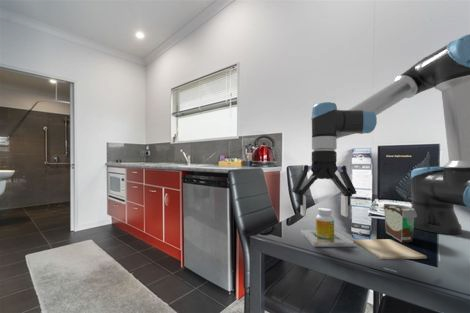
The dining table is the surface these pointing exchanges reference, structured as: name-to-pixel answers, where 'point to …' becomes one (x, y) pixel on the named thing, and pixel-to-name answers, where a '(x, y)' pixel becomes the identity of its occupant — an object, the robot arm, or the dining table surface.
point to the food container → (399, 221)
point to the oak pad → (388, 249)
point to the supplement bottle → (324, 224)
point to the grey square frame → (338, 242)
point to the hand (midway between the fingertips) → (323, 215)
